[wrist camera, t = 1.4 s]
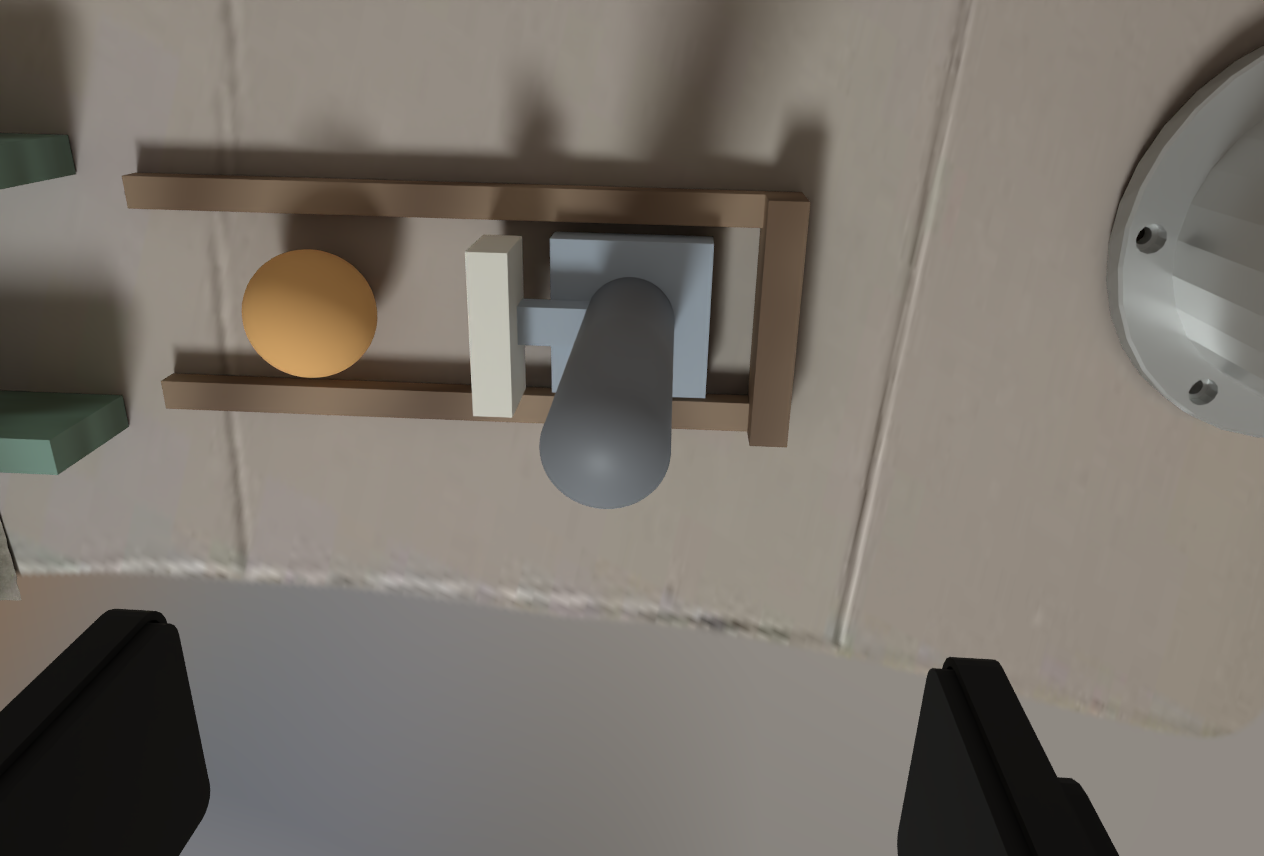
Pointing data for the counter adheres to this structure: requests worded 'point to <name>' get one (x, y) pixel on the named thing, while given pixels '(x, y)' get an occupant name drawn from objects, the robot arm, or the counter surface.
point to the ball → (309, 313)
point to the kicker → (595, 350)
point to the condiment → (7, 571)
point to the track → (766, 210)
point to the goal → (40, 421)
